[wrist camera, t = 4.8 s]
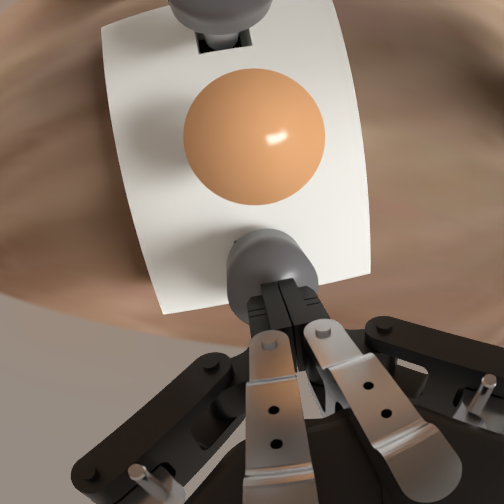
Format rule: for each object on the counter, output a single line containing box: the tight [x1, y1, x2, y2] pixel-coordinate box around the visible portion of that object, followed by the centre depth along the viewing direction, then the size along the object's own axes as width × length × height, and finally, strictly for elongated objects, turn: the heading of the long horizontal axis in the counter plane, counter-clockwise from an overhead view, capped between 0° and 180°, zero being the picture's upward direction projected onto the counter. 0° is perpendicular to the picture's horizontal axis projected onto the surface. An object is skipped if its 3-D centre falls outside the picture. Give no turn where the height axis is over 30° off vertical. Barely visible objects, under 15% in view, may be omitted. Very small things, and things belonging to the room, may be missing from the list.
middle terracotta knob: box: [183, 68, 325, 205], centre depth 12 cm, size 4×4×8 cm
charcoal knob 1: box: [168, 0, 273, 50], centre depth 10 cm, size 4×4×8 cm
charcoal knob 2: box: [226, 229, 318, 325], centre depth 18 cm, size 4×4×8 cm
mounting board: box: [101, 0, 370, 315], centre depth 17 cm, size 14×19×5 cm
